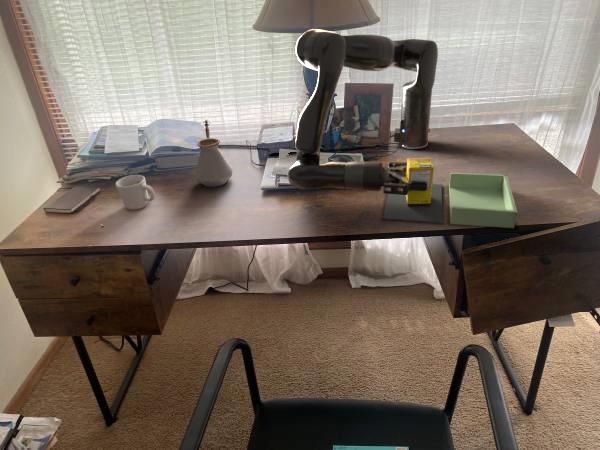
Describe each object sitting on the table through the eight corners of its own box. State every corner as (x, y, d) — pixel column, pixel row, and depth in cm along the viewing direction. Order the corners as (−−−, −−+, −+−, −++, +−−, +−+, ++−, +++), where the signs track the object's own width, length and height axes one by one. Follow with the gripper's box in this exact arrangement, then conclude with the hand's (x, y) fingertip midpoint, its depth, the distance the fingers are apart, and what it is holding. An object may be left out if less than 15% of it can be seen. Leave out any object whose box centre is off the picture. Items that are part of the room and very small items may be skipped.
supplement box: (427, 195, 117) (430, 157, 111) (430, 206, 112) (434, 167, 106) (404, 195, 118) (407, 158, 112) (406, 206, 113) (409, 167, 107)
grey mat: (383, 219, 109) (383, 218, 109) (390, 183, 125) (390, 182, 125) (441, 223, 105) (441, 222, 105) (441, 186, 122) (441, 184, 121)
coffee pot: (235, 186, 131) (227, 139, 123) (196, 192, 130) (186, 144, 122) (231, 159, 149) (224, 116, 141) (197, 164, 148) (188, 121, 140)
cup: (165, 201, 127) (158, 176, 122) (149, 215, 120) (141, 189, 116) (134, 197, 130) (127, 173, 126) (117, 211, 124) (108, 185, 119)
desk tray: (450, 223, 105) (452, 207, 103) (449, 186, 121) (450, 172, 119) (513, 228, 101) (517, 211, 99) (503, 189, 117) (506, 174, 115)
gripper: (359, 174, 107) (428, 177, 103) (367, 152, 119) (429, 154, 115) (359, 201, 111) (425, 205, 107) (367, 177, 123) (427, 179, 119)
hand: (427, 178), depth 111 cm, fingers open, 8 cm apart
